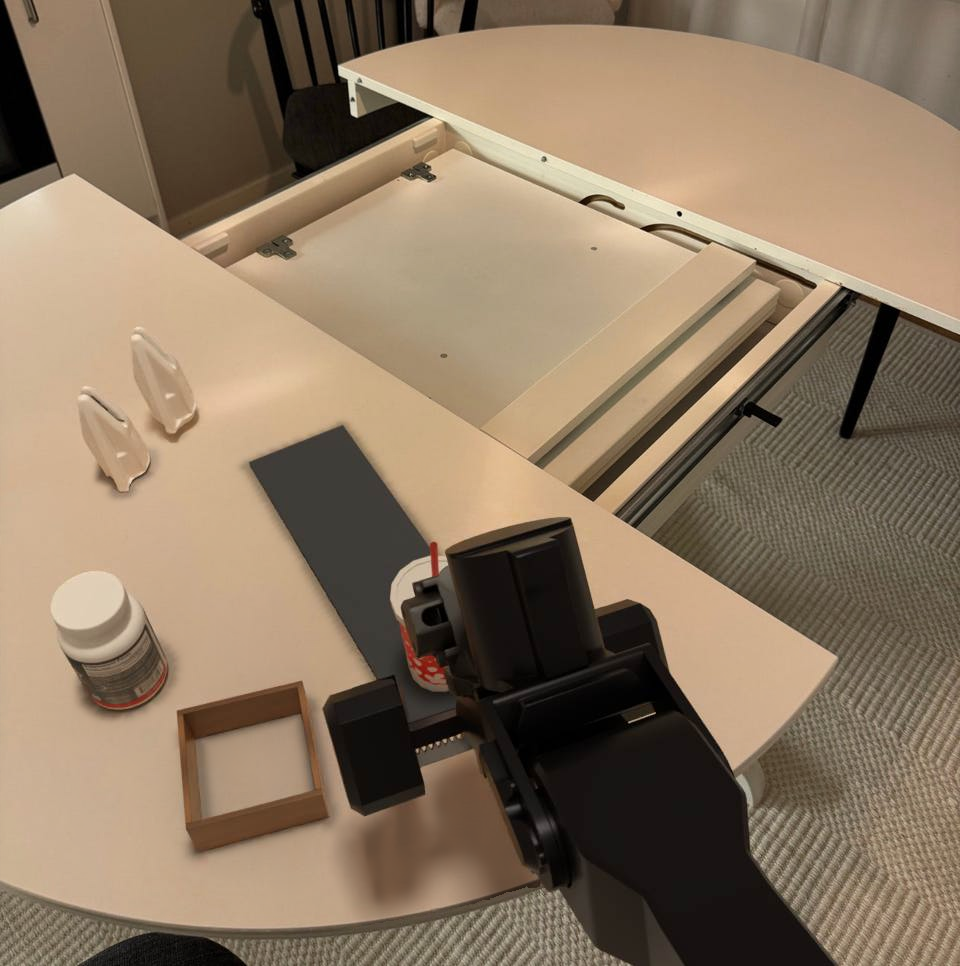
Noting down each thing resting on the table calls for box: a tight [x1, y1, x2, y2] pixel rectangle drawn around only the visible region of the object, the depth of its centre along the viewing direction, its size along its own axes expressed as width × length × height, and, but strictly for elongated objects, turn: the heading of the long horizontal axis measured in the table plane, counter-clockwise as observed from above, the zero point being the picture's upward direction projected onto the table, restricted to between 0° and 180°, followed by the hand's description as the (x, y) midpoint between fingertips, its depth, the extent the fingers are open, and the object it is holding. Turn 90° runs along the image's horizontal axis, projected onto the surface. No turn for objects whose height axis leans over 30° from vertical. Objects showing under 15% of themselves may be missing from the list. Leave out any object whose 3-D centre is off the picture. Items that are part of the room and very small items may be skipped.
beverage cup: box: [390, 541, 449, 692], centre depth 64 cm, size 6×6×14 cm
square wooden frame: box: [176, 680, 330, 852], centre depth 63 cm, size 8×8×4 cm
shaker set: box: [77, 326, 198, 493], centre depth 81 cm, size 12×4×11 cm, turn 152°
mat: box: [248, 424, 457, 722], centre depth 76 cm, size 30×9×1 cm, turn 31°
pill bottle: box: [49, 570, 168, 710], centre depth 66 cm, size 6×6×10 cm
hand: (467, 671), depth 60 cm, fingers open, 9 cm apart
